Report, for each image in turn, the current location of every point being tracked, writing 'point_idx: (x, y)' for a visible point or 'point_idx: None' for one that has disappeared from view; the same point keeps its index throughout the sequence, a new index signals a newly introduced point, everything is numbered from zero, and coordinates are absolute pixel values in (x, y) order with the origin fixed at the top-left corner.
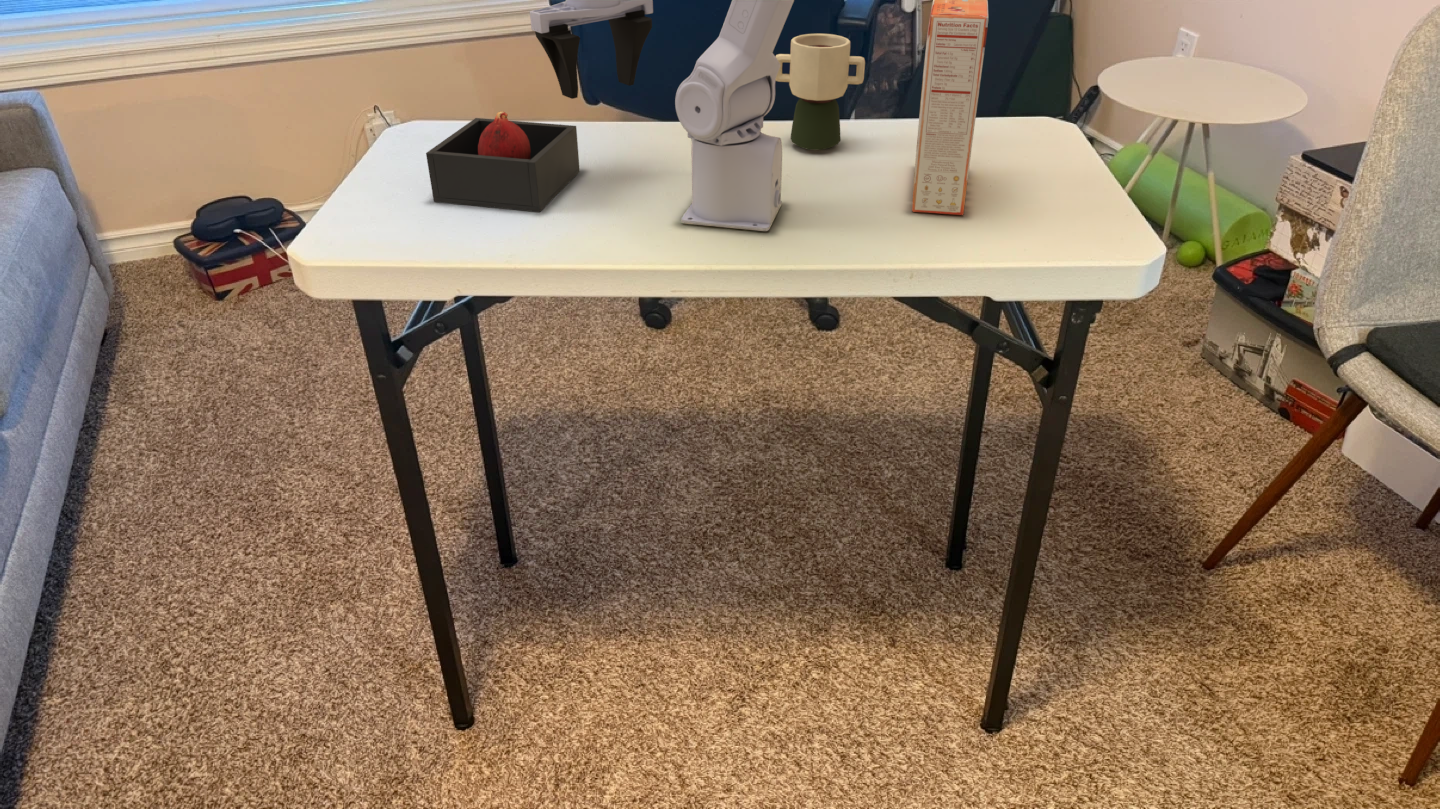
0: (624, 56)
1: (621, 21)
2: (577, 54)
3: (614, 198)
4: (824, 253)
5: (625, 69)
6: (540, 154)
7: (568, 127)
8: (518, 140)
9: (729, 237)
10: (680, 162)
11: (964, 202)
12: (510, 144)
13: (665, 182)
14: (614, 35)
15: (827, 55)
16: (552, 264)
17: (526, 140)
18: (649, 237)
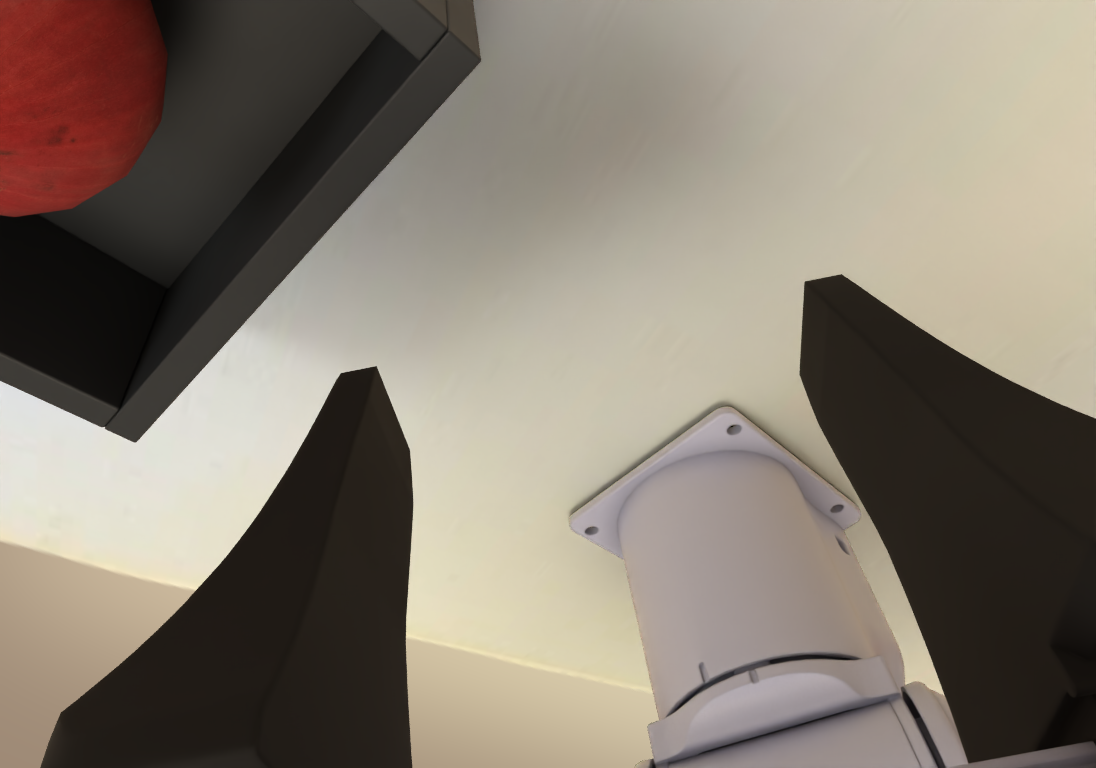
0: (885, 462)
1: (1036, 694)
2: (409, 740)
3: (483, 302)
4: None
5: (839, 412)
6: (174, 377)
7: (424, 71)
8: (65, 203)
9: (625, 588)
10: (919, 84)
11: None
12: (16, 216)
13: (721, 250)
14: (980, 481)
15: None
16: (169, 579)
17: (124, 158)
18: (455, 541)
